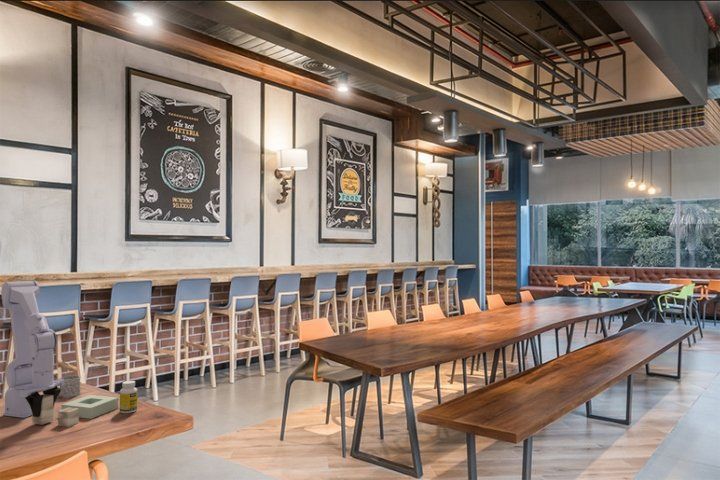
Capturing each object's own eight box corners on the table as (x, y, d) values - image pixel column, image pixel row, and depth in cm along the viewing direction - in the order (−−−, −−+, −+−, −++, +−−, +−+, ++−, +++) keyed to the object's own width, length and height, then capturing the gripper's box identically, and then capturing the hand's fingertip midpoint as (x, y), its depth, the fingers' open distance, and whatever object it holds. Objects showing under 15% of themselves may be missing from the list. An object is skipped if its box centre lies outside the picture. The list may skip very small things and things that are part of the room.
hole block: (61, 415, 175) (61, 404, 175) (89, 404, 186) (89, 394, 186) (91, 418, 171) (91, 407, 172) (118, 407, 183) (118, 397, 183)
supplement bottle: (130, 414, 176) (130, 384, 176) (116, 413, 177) (116, 383, 177) (140, 409, 181) (140, 380, 181) (126, 408, 182) (126, 379, 183)
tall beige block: (32, 423, 166) (32, 397, 166) (43, 419, 170) (43, 394, 170) (42, 424, 165) (42, 398, 165) (53, 420, 168) (53, 395, 168)
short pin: (58, 425, 165) (58, 411, 165) (68, 421, 169) (68, 407, 169) (68, 427, 164) (68, 412, 164) (78, 422, 168) (78, 408, 168)
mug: (74, 391, 203) (74, 374, 203) (83, 394, 199) (83, 376, 199) (46, 398, 195) (46, 379, 195) (55, 401, 191) (55, 382, 191)
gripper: (32, 377, 159) (32, 422, 159) (71, 366, 173) (71, 408, 173) (14, 375, 161) (14, 420, 161) (54, 365, 175) (54, 406, 175)
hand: (42, 414), depth 167 cm, fingers closed on tall beige block, 4 cm apart
